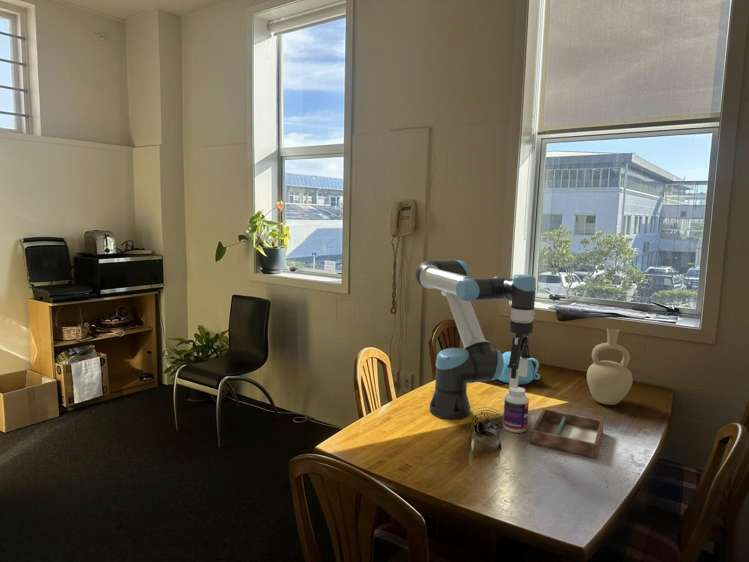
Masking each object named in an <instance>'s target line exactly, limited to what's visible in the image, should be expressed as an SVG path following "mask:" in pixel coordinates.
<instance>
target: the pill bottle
mask: <svg viewBox="0 0 749 562" xmlns="http://www.w3.org/2000/svg"><path fill="white" fill-rule="evenodd" d="M529 402H530V399H529V397H528V396H527V395H526V389H525V388H524V387H520V386H518V388H514V387H509V388H508V393H507V394H506V395H505V396H504V405H503V406H504V407H503V420H502V421H503V422H502V423H503V424H502V425H503V428H504V429H505V430H506V431H508V432H511V433H517V434H518V433H519V434H520V433H525V432H526V431H527V430H528V429H527V428H528V417H529V416H528V415H529V404H530V403H529Z"/></svg>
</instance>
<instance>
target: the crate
mask: <svg viewBox="0 0 749 562" xmlns="http://www.w3.org/2000/svg"><path fill="white" fill-rule="evenodd" d="M604 422H605V420H603V419H598V418H593V417H587V416H584V415H583V416H582V415H578V414H573V413H568V412H562V411H558V410H554V409H548V408H543V409H542V410H541V412H540V415H539V416H538V417H537V419H536V421H535V423H534V425H532V428H531V429H530V438H529V444H530V445H533V446H537V447H538V446H539V447H542V448H547V449H550V450H551V449H552V450H556V451H560V452H565V453H568V454H572V455H576V456H582V457H585V458H590V459H593V460H594V459H595V460H597V459H598V454H599V451H600V447H601V443H602V442H601V441H602V437H603V434H604V432H603V431H604Z"/></svg>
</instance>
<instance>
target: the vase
mask: <svg viewBox="0 0 749 562" xmlns="http://www.w3.org/2000/svg"><path fill="white" fill-rule="evenodd" d="M620 331H621V330H620V329H619V328H618V329H617V328H611V327H610V328H609V327H607V328H606V333H607V342H602V343H599V344H597V345H595V346H594V347H593V349H592V352H591V359H592V361H593V363H591V365H589V367H588V369H587V371H586V380H587V386H588V388H589V391H590V393H591V396H592V398H593V399H594V400H595V402H598V403H600V404H602V405H607V406H614V405H617V404H619V403H621V401H622V400H624V398H625V397H626V396H627V394H628V393H629V391H630V390H631V388H632V386H633V383H634V382H633V380H634V379H633V374H632V372H631V370H629V368H628V365H629V364H630V358H631V354H630V353H629V351H628V349H626V347H624V346H622V345H620V344H618V336H619V333H620ZM604 350H614V351H619V352H620V353H622V359H621V361H620V362H617V361H614V360H607V359H606V360H600V359H599V353H600V352H601V351H604Z"/></svg>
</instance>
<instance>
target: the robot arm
mask: <svg viewBox="0 0 749 562" xmlns="http://www.w3.org/2000/svg"><path fill="white" fill-rule="evenodd" d="M414 280H415V281H416V284H418V285H419V286H420V287H422V288H425V289H428V290H430V289H436V290H439V291H440V293H441V295H442V296H443V297H446V299H447V303H448V304H449V307H450V308H449V309H450V310H451V314H452V316H453V319H454V323H455V325H456V328H457V331H458V334H459V337H460V339H461V342H462V345H463V348H461V347H449V348H444V349H441V350H440V351H439V352H438V354H437V355H436V358H435V359H436V360H435V384H434V392H433V394H432V398H431V400H430V403H429V412H430V414H433V415H434V416H435V417H438V418H442V419H448V420H459V419H465V418H467V417H469V416H470V415H471V404H470V399H469V397H468V394H467V388H468V387H467V386H468V384H472V383H473V384H474V383H482V382H491V381H495V380H499V379H498V378H499V377H500V376H501V374H502V372H503V368H504V360H503V356H502V355H503V353H502V352H501V351H500V350H499V349H498V348H493V345H492V343H491V341H489V340H487V339H485V335H484V333H483V331H482V329H481V326H480V323H479V320H478V318H477V315H476V312H475V310H474V307H473V305H472V302H473V301H486V300H487V301H488V300H489V301H490V300H491V301H492V300H508V301H511V302H510V303H511V305H510V316H509V317H510V321H509V332H511V333H512V334H515V337H513V338H512V339H511V340H512V341H511V342H512V345H511V349H510V352H511V355H510V361H509V365H508V368H510V380H509V383H508V386H509V388H510V387H514V388H518V387H519V385H518V377H519V376H523V377H527V365H528V359H527V358H531V355H530V341H529V340H530V337H529V336H530V334H532V333H534V322H533V321H534V319H535V317H534V316H535V315H536V312H535V303H536V290H537V284H536V283H537V281H536V280H537V279H536V277H535V276H534V275H531V274H514V275H513V277H512V278H509V277H507V276H506V277H505V276H494V277H485V278H476V277H471V276H470V269H469V268H468V266H467V264H466V263H465V262H464V261H462V260H459V259H442V260H441V259H440V260H439V259H437V260H436V259H435V260H434V259H433V260H431V259H430V260H426V261H423V262H420V263H419V264H418V266H417V267H416V268H415V271H414ZM520 357H522V358H520ZM514 364H515V365H514ZM518 366H519V368H518Z"/></svg>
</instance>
